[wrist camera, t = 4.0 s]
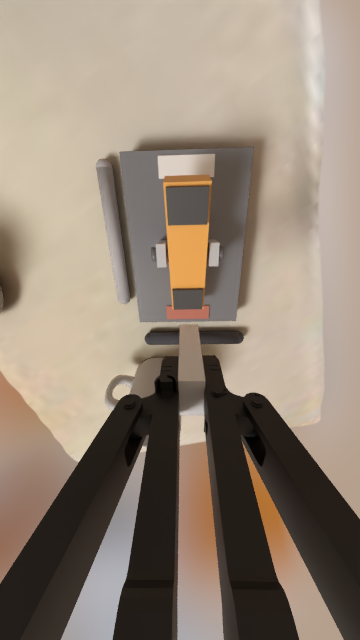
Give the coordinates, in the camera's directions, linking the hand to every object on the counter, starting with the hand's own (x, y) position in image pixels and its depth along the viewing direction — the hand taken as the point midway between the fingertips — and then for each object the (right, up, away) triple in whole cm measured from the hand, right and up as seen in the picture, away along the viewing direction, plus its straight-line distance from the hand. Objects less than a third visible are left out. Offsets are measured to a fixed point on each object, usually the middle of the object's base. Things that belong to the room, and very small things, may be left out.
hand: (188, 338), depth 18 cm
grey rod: (-9, +12, +11) cm, 19 cm away
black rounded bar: (+2, -1, +17) cm, 17 cm away
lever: (0, +10, +6) cm, 11 cm away
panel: (0, +12, +11) cm, 16 cm away
